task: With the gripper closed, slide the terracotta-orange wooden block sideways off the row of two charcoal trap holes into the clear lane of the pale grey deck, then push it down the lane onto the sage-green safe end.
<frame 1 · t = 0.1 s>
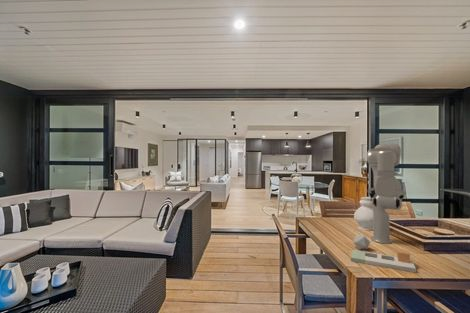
hand: (386, 206, 126), 31 cm above the table, fingers open, 9 cm apart
die: (361, 248, 151), on the table
decorative vase: (366, 228, 195), on the table
block: (403, 260, 128), point 2 cm above the table, touching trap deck
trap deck: (380, 261, 131), on the table
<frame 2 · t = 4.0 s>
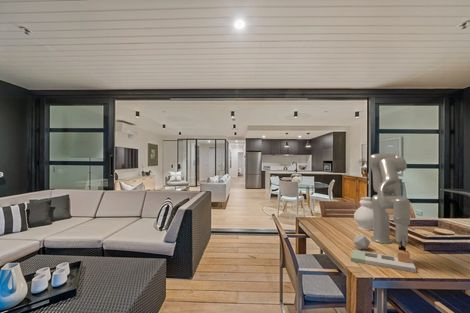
hand: (402, 254, 132), 4 cm above the table, fingers closed
block: (403, 260, 128), point 2 cm above the table, touching gripper
everything else where it was.
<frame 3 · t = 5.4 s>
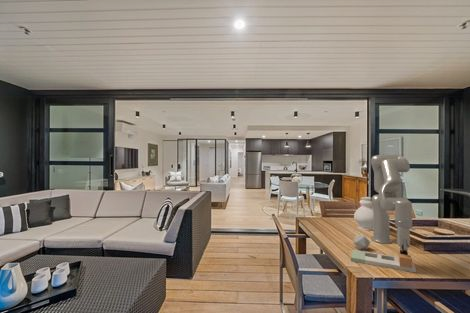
hand: (403, 258, 126), 4 cm above the table, fingers closed
block: (405, 265, 122), point 2 cm above the table, touching gripper, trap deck
everything else where it was.
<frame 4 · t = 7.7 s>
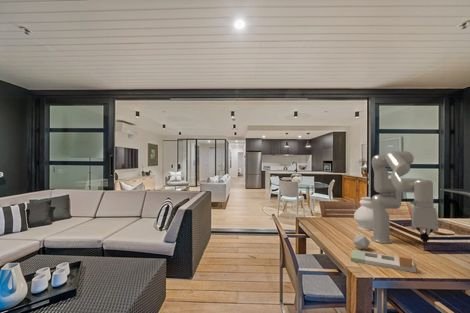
hand: (424, 241, 119), 15 cm above the table, fingers closed
block: (405, 265, 122), point 2 cm above the table, touching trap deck
everything else where it was.
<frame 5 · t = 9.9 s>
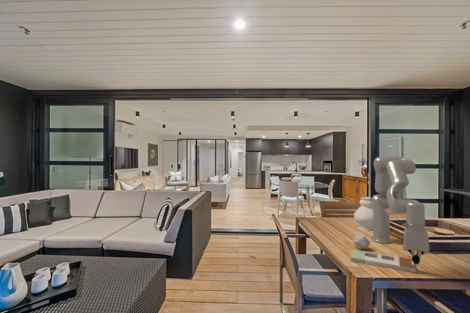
hand: (416, 263, 121), 4 cm above the table, fingers closed
block: (404, 265, 122), point 2 cm above the table, touching gripper, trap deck
everything else where it was.
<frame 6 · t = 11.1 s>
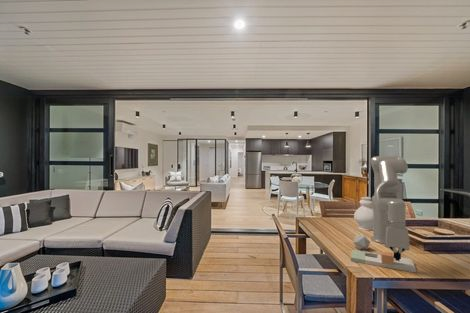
hand: (397, 259, 124), 4 cm above the table, fingers closed
block: (387, 262, 126), point 2 cm above the table, touching gripper
everything else where it was.
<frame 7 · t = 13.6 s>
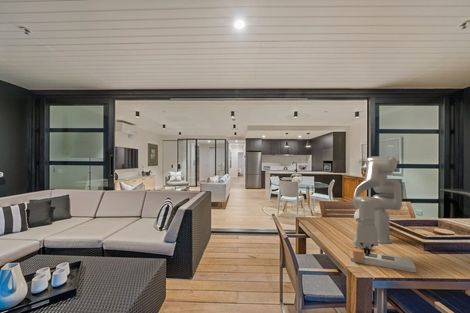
hand: (367, 255, 131), 4 cm above the table, fingers closed
block: (358, 258, 131), point 2 cm above the table, touching gripper
everything else where it was.
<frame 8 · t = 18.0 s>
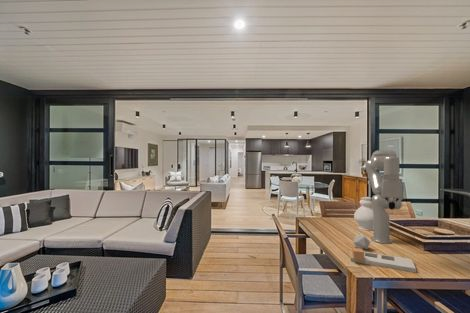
hand: (391, 209, 139), 27 cm above the table, fingers closed
block: (357, 258, 131), point 2 cm above the table, touching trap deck
everything else where it was.
at the end: block inside the target area (2.5 cm from its centre), point 2.0 cm above the table; block tilted 0° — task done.
